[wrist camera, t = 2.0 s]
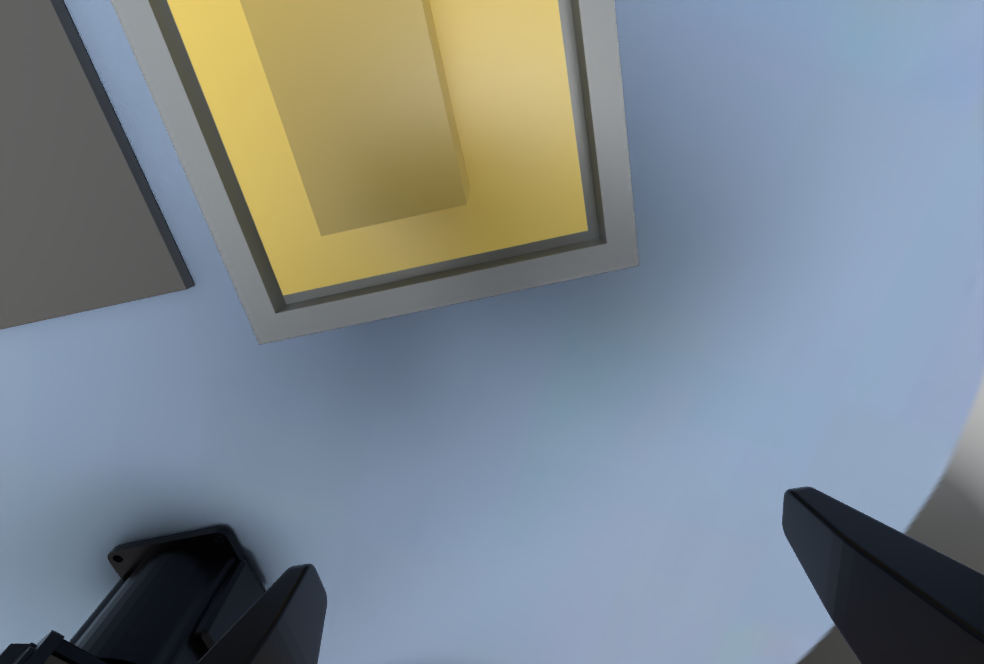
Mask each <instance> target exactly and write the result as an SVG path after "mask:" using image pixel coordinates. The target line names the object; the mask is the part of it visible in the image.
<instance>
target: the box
mask: <svg viewBox="0 0 984 664" xmlns="http://www.w3.org/2000/svg"><path fill="white" fill-rule="evenodd" d="M111 2H112V5H113V7H114V9H115V12H116V14H117V16H118V18H119V21H120V23H121V25H122V28H123V30H124V32H125V35H126V37H127V39H128V42H129V44H130V46H131V49H132V51H133V53H134V56H135V58H136V60H137V63H138V65H139V67H140V69H141V72H142V74H143V76H144V79H145V81H146V83H147V86H148V88H149V90H150V93H151V95H152V97H153V100H154V102H155V104H156V107H157V109H158V111H159V113H160V116H161V118H162V120H163V123H164V125H165V127H166V130H167V132H168V134H169V137H170V139H171V141H172V144H173V146H174V148H175V151H176V153H177V155H178V158H179V160H180V162H181V164H182V167H183V169H184V171H185V174H186V176H187V178H188V181H189V183H190V185H191V188H192V190H193V192H194V195H195V197H196V199H197V202H198V204H199V206H200V208H201V211H202V213H203V215H204V218H205V220H206V222H207V225H208V227H209V229H210V232H211V234H212V236H213V239H214V241H215V243H216V246H217V248H218V250H219V253H220V255H221V257H222V259H223V262H224V264H225V266H226V269H227V271H228V273H229V276H230V278H231V280H232V283H233V285H234V287H235V290H236V292H237V294H238V297H239V299H240V301H241V303H242V306H243V308H244V310H245V313H246V315H247V317H248V320H249V322H250V324H251V327H252V329H253V331H254V334H255V336H256V338H257V341H258V343H259V345H261V344H266V343H270V342H275V341H280V340H285V339H290V338H294V337H299V336H304V335H309V334H314V333H318V332H323V331H328V330H333V329H338V328H342V327H347V326H352V325H357V324H362V323H366V322H371V321H376V320H381V319H386V318H390V317H395V316H400V315H405V314H410V313H414V312H419V311H424V310H429V309H434V308H438V307H443V306H448V305H453V304H458V303H462V302H467V301H472V300H477V299H482V298H486V297H491V296H496V295H501V294H506V293H510V292H515V291H520V290H525V289H530V288H534V287H539V286H544V285H549V284H554V283H558V282H563V281H568V280H573V279H578V278H582V277H587V276H592V275H597V274H602V273H606V272H611V271H616V270H621V269H626V268H630V267H635V266H639V259H638V248H637V237H636V227H635V216H634V205H633V195H632V184H631V173H630V163H629V152H628V141H627V130H626V120H625V109H624V98H623V88H622V77H621V66H620V56H619V45H618V34H617V23H616V13H615V2H614V0H558V6H559V13H560V21H561V29H562V36H563V44H564V51H565V59H566V67H567V74H568V82H569V89H570V97H571V105H572V112H573V120H574V127H575V135H576V143H577V150H578V158H579V166H580V173H581V181H582V188H583V196H584V204H585V211H586V219H587V226H588V231H583V232H578V233H574V234H569V235H564V236H560V237H555V238H550V239H546V240H541V241H536V242H532V243H527V244H522V245H517V246H513V247H508V248H503V249H499V250H494V251H489V252H485V253H480V254H475V255H471V256H466V257H461V258H457V259H452V260H447V261H442V262H438V263H433V264H428V265H424V266H419V267H414V268H410V269H405V270H400V271H396V272H391V273H386V274H382V275H377V276H372V277H368V278H363V279H358V280H353V281H349V282H344V283H339V284H335V285H330V286H325V287H321V288H316V289H311V290H307V291H302V292H297V293H293V294H288V295H283V294H282V291H281V289H280V286H279V284H278V281H277V278H276V276H275V273H274V271H273V268H272V266H271V263H270V261H269V258H268V256H267V253H266V251H265V248H264V245H263V243H262V240H261V238H260V235H259V233H258V230H257V228H256V225H255V223H254V220H253V218H252V215H251V212H250V210H249V207H248V205H247V202H246V200H245V197H244V195H243V192H242V190H241V187H240V185H239V182H238V179H237V177H236V174H235V172H234V169H233V167H232V164H231V162H230V159H229V157H228V154H227V151H226V149H225V146H224V144H223V141H222V139H221V136H220V134H219V131H218V129H217V126H216V124H215V121H214V118H213V116H212V113H211V111H210V108H209V106H208V103H207V101H206V98H205V96H204V93H203V91H202V88H201V85H200V83H199V80H198V78H197V75H196V73H195V70H194V68H193V65H192V63H191V60H190V58H189V55H188V52H187V50H186V47H185V45H184V42H183V40H182V37H181V35H180V32H179V30H178V27H177V25H176V22H175V19H174V17H173V14H172V12H171V9H170V7H169V4H168V2H167V0H111Z"/></svg>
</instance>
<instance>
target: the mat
mask: <svg viewBox="0 0 984 664" xmlns="http://www.w3.org/2000/svg"><path fill="white" fill-rule="evenodd" d="M192 286H194V282H193V280H192V278H191V276H190V274H189V272H188V269H187V267H186V265H185V263H184V261H183V259H182V257H181V254H180V252H179V250H178V248H177V246H176V244H175V241H174V239H173V237H172V235H171V233H170V231H169V229H168V226H167V224H166V222H165V220H164V218H163V216H162V213H161V211H160V209H159V207H158V205H157V203H156V200H155V198H154V196H153V194H152V192H151V190H150V188H149V185H148V183H147V181H146V179H145V177H144V175H143V172H142V170H141V168H140V166H139V164H138V162H137V160H136V157H135V155H134V153H133V151H132V149H131V147H130V144H129V142H128V140H127V138H126V136H125V134H124V131H123V129H122V127H121V125H120V123H119V121H118V119H117V116H116V114H115V112H114V110H113V108H112V106H111V103H110V101H109V99H108V97H107V95H106V93H105V91H104V88H103V86H102V84H101V82H100V80H99V78H98V75H97V73H96V71H95V69H94V67H93V65H92V63H91V60H90V58H89V56H88V54H87V52H86V50H85V47H84V45H83V43H82V41H81V39H80V37H79V34H78V32H77V30H76V28H75V26H74V24H73V22H72V19H71V17H70V15H69V13H68V11H67V9H66V6H65V4H64V2H63V0H0V329H5V328H10V327H14V326H19V325H23V324H28V323H33V322H37V321H42V320H46V319H51V318H56V317H60V316H65V315H70V314H74V313H79V312H83V311H88V310H93V309H97V308H102V307H107V306H111V305H116V304H120V303H125V302H130V301H134V300H139V299H143V298H148V297H153V296H157V295H162V294H167V293H171V292H176V291H180V290H185V289H188V288H190V287H192Z"/></svg>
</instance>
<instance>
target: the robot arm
mask: <svg viewBox="0 0 984 664" xmlns="http://www.w3.org/2000/svg"><path fill="white" fill-rule="evenodd" d="M782 526H783V530H784V533H785V536H786V538H787V539H788V541H789V543H790V545H791V547H792V549H793V550H794V552H795V554H796V556H797V558H798V559H799V561H800V563H801V565H802V567H803V569H804V570H805V572H806V574H807V576H808V578H809V579H810V581H811V583H812V585H813V587H814V589H815V590H816V592H817V594H818V596H819V598H820V599H821V601H822V603H823V605H824V607H825V608H826V610H827V612H828V614H829V615H830V617H831V619H832V620H833V622H834V623H835V625H836V627H837V628H838V630H839V631H840V633H841V634H842V636H843V637H844V639H845V640H846V641H847V643H848V645H849V646H850V647H851V649H852V650H853V652H854V653H855V655H856V656H857V658H858V659H859V661H860V662H861V664H984V574H982V573H980V572H978V571H976V570H974V569H972V568H970V567H968V566H966V565H964V564H962V563H960V562H958V561H956V560H954V559H952V558H950V557H948V556H946V555H944V554H942V553H941V552H938V551H937V550H935V549H933V548H931V547H928V546H927V545H925V544H923V543H921V542H919V541H917V540H915V539H913V538H911V537H909V536H907V535H905V534H903V533H901V532H899V531H897V530H895V529H893V528H891V527H889V526H887V525H885V524H883V523H881V522H879V521H877V520H875V519H873V518H872V517H870V516H868V515H866V514H864V513H862V512H860V511H858V510H856V509H854V508H852V507H850V506H848V505H846V504H844V503H842V502H840V501H838V500H836V499H834V498H832V497H830V496H828V495H826V494H824V493H822V492H820V491H818V490H816V489H814V488H812V487H800V488H793V489H788V490H787V491H786V492H785V493H784V502H783V516H782ZM219 536H220V537H219ZM221 537H222V538H221ZM108 560H109V562H110V563H111V564H112V566H113V567H114V569H115V570H116V572H117V573H118V575H119V576H120V577H121V579H120V580H119V582H118V583H117V584H116V585H115V587H114V588H113V589H112V590H111V591H110V593H109V594H108V595H107V596H106V598H105V599H104V600H103V601H102V602H101V604H100V605H99V606H98V607H97V609H96V610H95V611H94V612H93V613H92V615H91V616H90V617H89V618H88V620H87V621H86V622H85V623H84V624H83V626H82V627H81V628H80V629H79V631H78V632H77V633H76V634H75V635H74V637H73V638H72V639H71V640H70V642H68V641H66V640H64V639H63V638H64V637H65V636H63V635H61V634H59V633H57V632H55V631H54V630H52V631H51V632H50V633H49V634H48V635H46V636H45V637H44V638H43V639H42V640H41V641H40V642H39V643H38V644H37V645H36V644H34V643H32V642H31V643H30V644H10V645H9V646H8V647H7V648H6V649H5V650H4V651H3V652H2V653H1V654H0V664H317V663H318V657H319V651H320V645H321V638H322V632H323V626H324V620H325V614H326V608H327V595H326V591H325V589H324V587H323V584H322V582H321V580H320V578H319V575H318V573H317V571H316V569H315V567H314V566H313V565H312V564H303V565H296V566H292V567H290V568H289V569H287V570H286V571H285V572H284V573H283V574H282V575H281V576H280V577H279V579H278V580H277V581H276V582H275V583H274V584H273V585H272V586H271V587H270V588H269V589H268V590H267V591H266V592H265V593H264V591H263V589H262V587H261V585H260V584H259V582H258V580H257V578H256V576H255V574H254V572H253V571H252V569H251V567H250V565H249V563H248V561H247V560H246V558H245V556H244V554H243V552H242V550H241V549H240V547H239V545H238V543H237V541H236V539H235V538H234V536H233V534H232V532H231V531H230V530H229V529H227V528H225V527H215V528H210V529H204V530H199V531H194V532H188V533H183V534H178V535H172V536H167V537H162V538H156V539H151V540H146V541H141V542H135V543H130V544H125V545H119V546H116V547H115V548H114V549H113V550H112V551H111V552H110V553H109V555H108Z"/></svg>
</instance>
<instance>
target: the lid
mask: <svg viewBox="0 0 984 664" xmlns="http://www.w3.org/2000/svg"><path fill="white" fill-rule="evenodd" d="M167 2H168V4H169V7H170V9H171V12H172V14H173V17H174V19H175V22H176V25H177V27H178V30H179V32H180V35H181V37H182V40H183V42H184V45H185V47H186V50H187V52H188V55H189V58H190V60H191V63H192V65H193V68H194V70H195V73H196V75H197V78H198V80H199V83H200V85H201V88H202V91H203V93H204V96H205V98H206V101H207V103H208V106H209V108H210V111H211V113H212V116H213V118H214V121H215V124H216V126H217V129H218V131H219V134H220V136H221V139H222V141H223V144H224V146H225V149H226V151H227V154H228V157H229V159H230V162H231V164H232V167H233V169H234V172H235V174H236V177H237V179H238V182H239V185H240V187H241V190H242V192H243V195H244V197H245V200H246V202H247V205H248V207H249V210H250V212H251V215H252V218H253V220H254V223H255V225H256V228H257V230H258V233H259V235H260V238H261V240H262V243H263V245H264V248H265V251H266V253H267V256H268V258H269V261H270V263H271V266H272V268H273V271H274V273H275V276H276V278H277V281H278V284H279V286H280V289H281V291H282V294H283V295H288V294H293V293H297V292H302V291H307V290H311V289H316V288H321V287H325V286H330V285H335V284H339V283H344V282H349V281H353V280H358V279H363V278H368V277H372V276H377V275H382V274H386V273H391V272H396V271H400V270H405V269H410V268H414V267H419V266H424V265H428V264H433V263H438V262H442V261H447V260H452V259H457V258H461V257H466V256H471V255H475V254H480V253H485V252H489V251H494V250H499V249H503V248H508V247H513V246H517V245H522V244H527V243H532V242H536V241H541V240H546V239H550V238H555V237H560V236H564V235H569V234H574V233H578V232H583V231H588V226H587V219H586V211H585V204H584V196H583V188H582V181H581V173H580V166H579V158H578V150H577V143H576V135H575V127H574V120H573V112H572V105H571V97H570V89H569V82H568V74H567V67H566V59H565V51H564V44H563V36H562V29H561V21H560V13H559V6H558V0H167Z"/></svg>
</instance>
